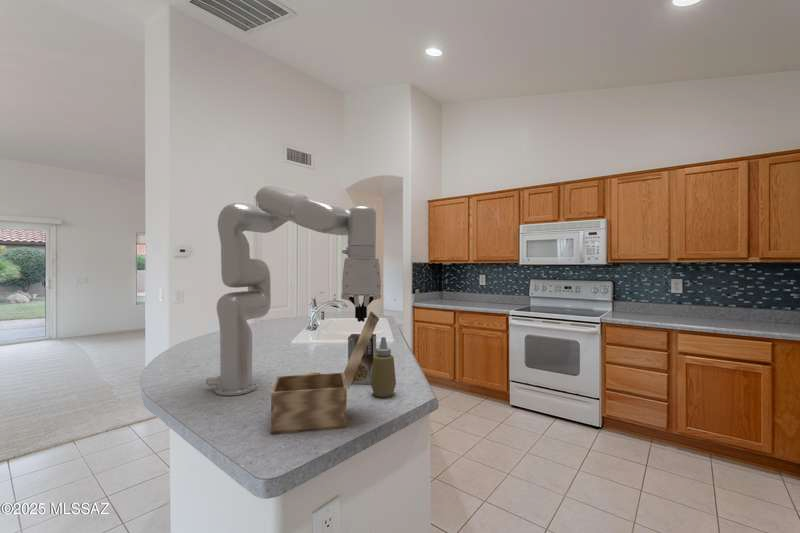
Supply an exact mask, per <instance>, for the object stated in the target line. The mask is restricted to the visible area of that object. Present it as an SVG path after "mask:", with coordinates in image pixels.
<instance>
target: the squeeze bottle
mask: <svg viewBox="0 0 800 533" xmlns="http://www.w3.org/2000/svg"><path fill="white" fill-rule="evenodd" d="M380 339H381V340H380V344H379V347H376V355H375V356H374V357H373V365H372V375H371V384H370V387H371V389H372V392H373V395H374V396H376V397H379V398H388V397H391V396H393V394H394V391H395V388H396V385H397V381H396V380H397V379H396V378H397V377H396V370H395V368H396V367H395V359H394V357H395V356H394V355H392V354H391V353H392V352H391V350H392V349H391V347H388V343H387V339H386V337H385V336H381V338H380Z"/></svg>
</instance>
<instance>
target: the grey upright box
mask: <svg viewBox="0 0 800 533" xmlns="http://www.w3.org/2000/svg"><path fill="white" fill-rule="evenodd" d="M360 334H361V333H351V334H350V335H349V336H348V337H347V358H348V359H347V361H348V362H349V360H350V357H351V355H352V353H353V351H354V348H355V346H356V344H357V341H358V339H359V337H360ZM376 349H377V334H376V333H372V336H371V338H370V340H369V343H368V345H367V347H366V350H365V352H364V354H363V357H362V359H361V361H360V364H359V366H358V368H357V371H356V373H355V375H354V377H353V380H352V382H351V384H350V385H371V375H372V365H373V357H374V356H375V355H377V354H376ZM348 362H347V363H348Z"/></svg>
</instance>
